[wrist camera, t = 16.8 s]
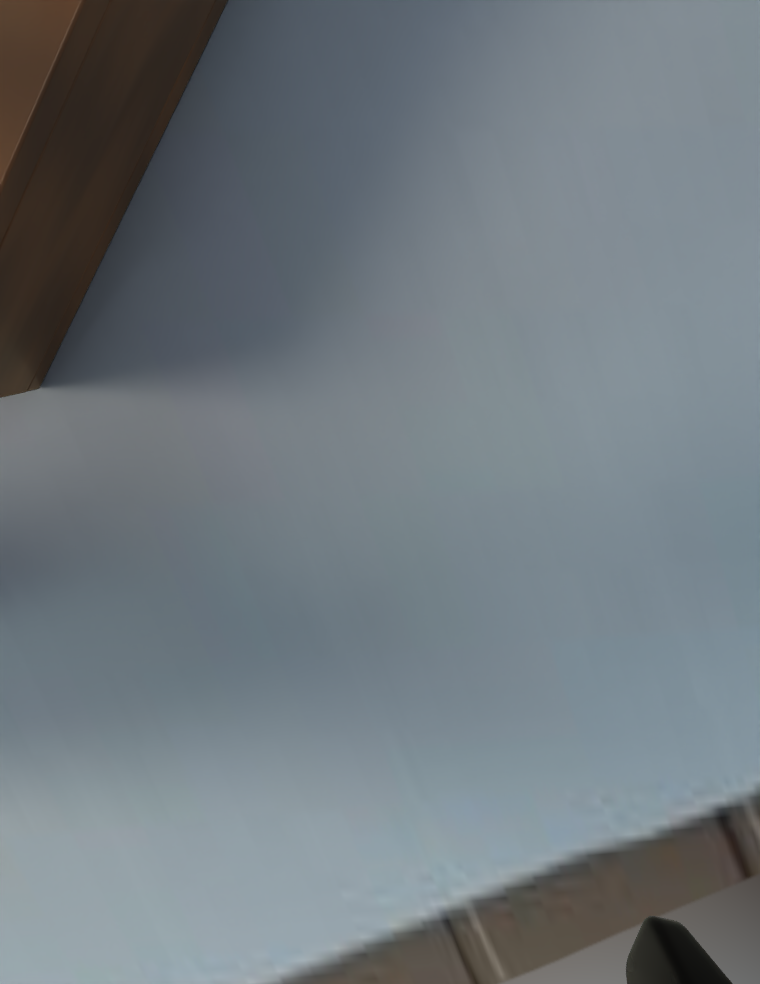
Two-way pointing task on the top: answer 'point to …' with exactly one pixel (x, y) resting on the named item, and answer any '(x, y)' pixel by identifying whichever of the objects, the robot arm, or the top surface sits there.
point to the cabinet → (77, 149)
